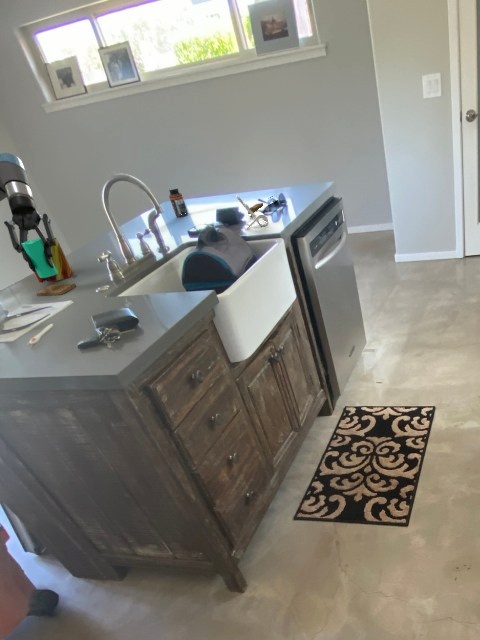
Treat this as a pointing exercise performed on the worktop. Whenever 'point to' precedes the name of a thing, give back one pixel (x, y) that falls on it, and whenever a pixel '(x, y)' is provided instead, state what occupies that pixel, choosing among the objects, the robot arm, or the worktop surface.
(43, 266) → the candle
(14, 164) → the robot arm
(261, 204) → the tap handle
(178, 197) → the supplement bottle
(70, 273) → the mug
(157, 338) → the worktop surface
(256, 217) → the plastic part
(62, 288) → the cork mat
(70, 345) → the worktop surface
